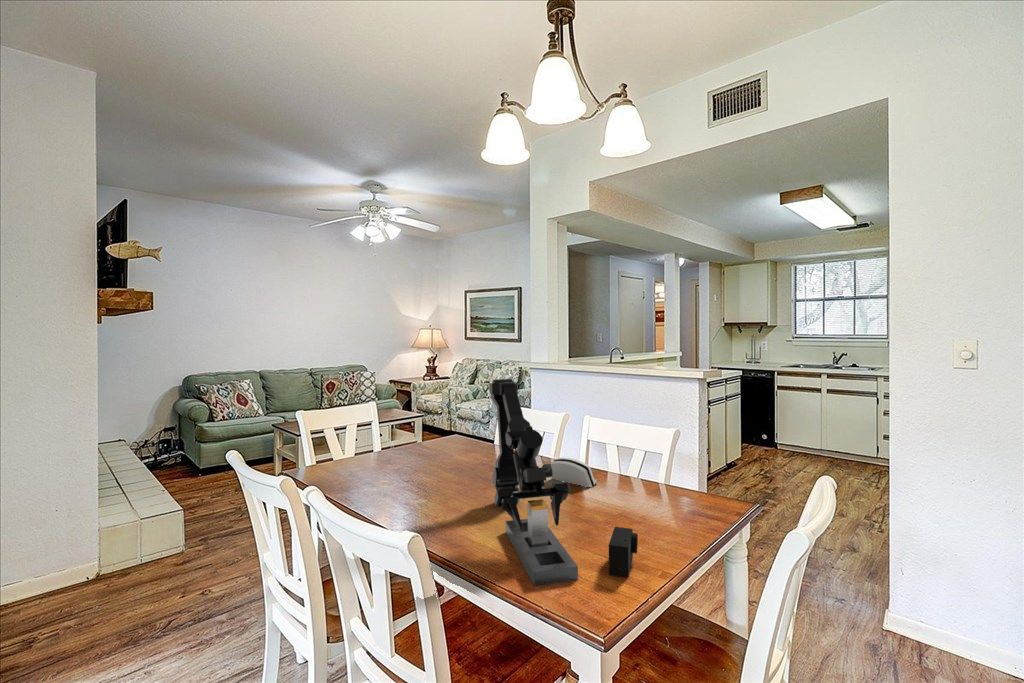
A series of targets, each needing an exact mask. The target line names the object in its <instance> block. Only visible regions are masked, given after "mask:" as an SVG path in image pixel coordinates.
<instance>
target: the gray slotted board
mask: <svg viewBox="0 0 1024 683" xmlns="http://www.w3.org/2000/svg"><path fill="white" fill-rule="evenodd" d="M520 520H521V525H522V529H521V530H519V528H518V527H517V525H516V523H515V522H514V520H513V519H512V520H506V521H505V533H506V535H507V537H508V539H509V541H510V543H511V545H512V547H513V549H514V550H515V552H516V554H517V557H518V558H519V560H520V562H521V563H522V566H523V568H524V570H525V572H526V571H527V572H526V574H527V575H528V577H529V579H530V581H531V583H532V585H533V584H534V585H533V586H534V587H536V586H535V585H538V586H543V585H542V584H545V585H550V584H558V583H565V582H572V581H573V582H574V581H578V580H579V565H578V564H577V563H576V561H574V559H573V558H572V556H571V555H570V553H568V551H567V550H566V549H565V547H564V545H562V543H561V542H560V540H559V539H558V538H557V536H556V535H555V534H554V533H553V531H552V530H551V529H550V527H549V526H548V546H540V547H532V548H530V547H529V545H528V518H524V519H523V518H522V519H521V518H520Z"/></svg>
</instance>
